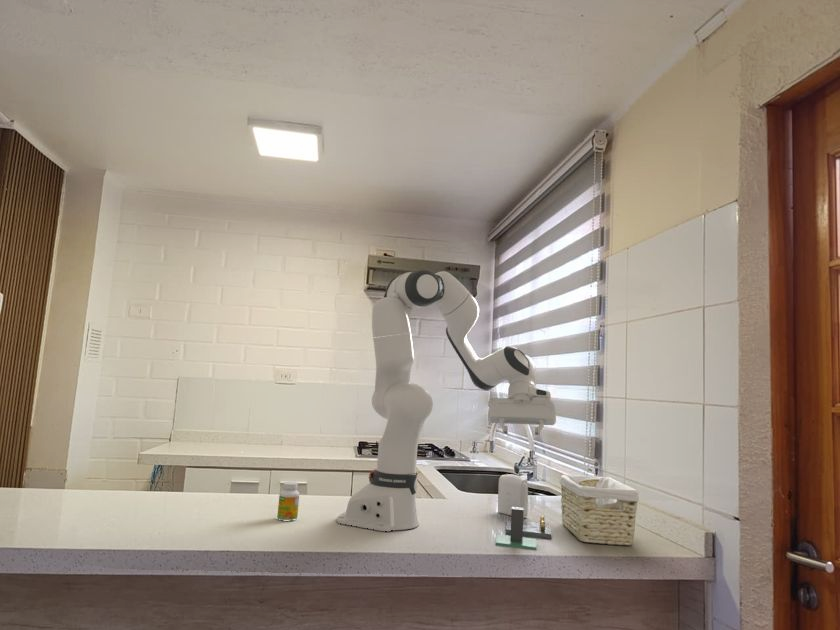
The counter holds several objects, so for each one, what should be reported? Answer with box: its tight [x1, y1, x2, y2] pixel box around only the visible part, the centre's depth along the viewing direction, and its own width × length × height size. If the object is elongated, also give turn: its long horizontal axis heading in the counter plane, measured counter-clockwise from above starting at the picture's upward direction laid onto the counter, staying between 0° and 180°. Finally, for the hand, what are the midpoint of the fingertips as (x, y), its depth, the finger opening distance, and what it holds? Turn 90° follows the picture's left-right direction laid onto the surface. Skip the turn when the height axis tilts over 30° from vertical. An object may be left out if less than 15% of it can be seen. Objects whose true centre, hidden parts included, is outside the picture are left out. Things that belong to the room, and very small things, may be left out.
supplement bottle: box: [276, 481, 300, 521], centre depth 148 cm, size 5×5×10 cm
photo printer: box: [497, 473, 529, 519], centre depth 170 cm, size 10×4×12 cm, turn 39°
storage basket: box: [559, 473, 640, 546], centre depth 153 cm, size 24×16×15 cm
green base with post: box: [495, 507, 537, 551], centre depth 139 cm, size 10×8×9 cm
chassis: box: [505, 515, 552, 540], centre depth 151 cm, size 12×12×4 cm
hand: (521, 433), depth 158 cm, fingers open, 8 cm apart
